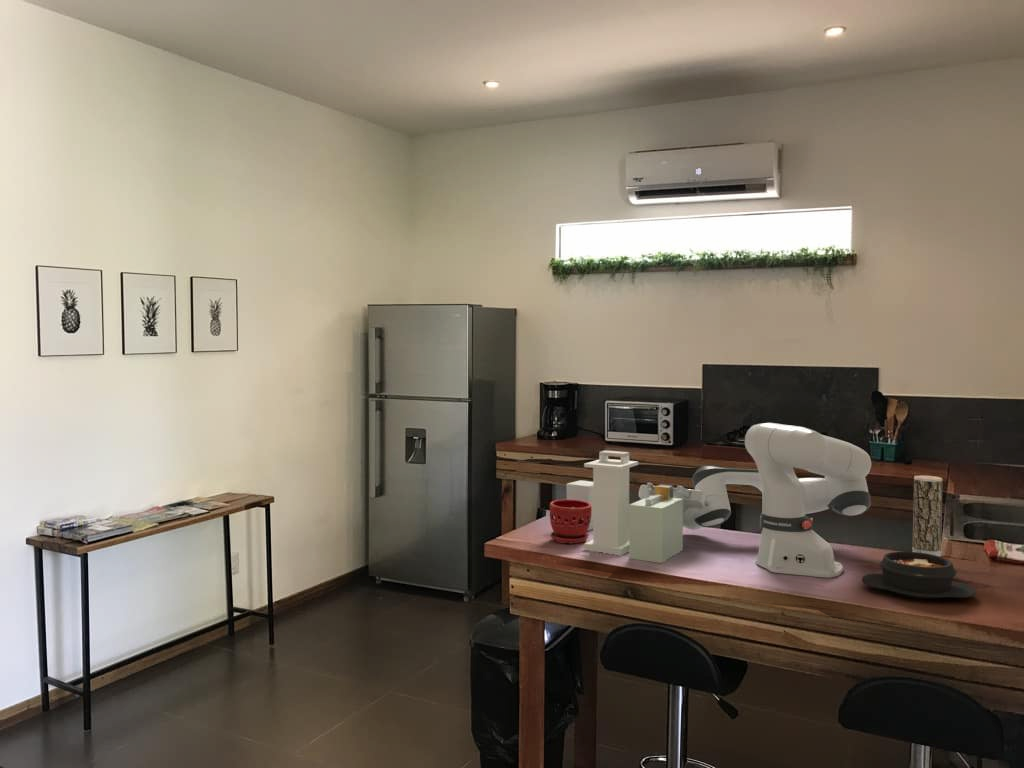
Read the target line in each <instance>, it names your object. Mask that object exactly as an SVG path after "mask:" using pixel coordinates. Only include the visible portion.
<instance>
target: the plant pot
mask: <svg viewBox="0 0 1024 768" xmlns="http://www.w3.org/2000/svg"><path fill="white" fill-rule="evenodd" d="M572 507H575V508H572ZM591 511H592V506H591V504H590V503H588V502H585V501H580V500H567V499H555V500H552V501H551V502H549V522H550V526H551V528H552V532H551V533H550V538H551V539H552V540H554V541H555V542H557V543H559V544H565V543H569V544H570V545H574V544H573V543H576V544H581V543H583V542H586V541H587V539H588V538H589V534H588V533H587V532H588V531H587V530H588V528H589V525H590V520H591ZM582 518H583V520H582ZM569 544H568V545H569Z"/></svg>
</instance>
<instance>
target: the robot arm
mask: <svg viewBox="0 0 1024 768" xmlns="http://www.w3.org/2000/svg"><path fill="white" fill-rule="evenodd" d="M744 446H745V449H746V451H747V453H748V454H749V455H750V456H751V458H752V459H753V461H754V463H755V465H756V468H755V469H754V468H753V469H752V468H728V467H720V466H715V465H704V466H701V467H699V468H697V469H696V471H695V473H694V474H693V475H692V477H691V482H692V487H693V489H689V488H686V487H684V486H683V485H677V486H676V487H673V498H680V499H683V528H684V529H687V530H690V531H696V530H700V529H701V528H712V527H716V526H721V525H722V524H724V522H726V521H727V520H728V519H729V518H730V516H731V514H732V511H731V505H730V501H729V497H728V492H727V486H726V485H745V486H746V485H748V486H753V487H755V488H757V489H758V490H759V491H760V492H761V493H762V494H761V496H762V500H761V501H762V503H761V505H762V512H761V513H760V518H759V528H760V535H761V536H760V542H759V548H758V553H757V557H756V559H755V564H756V565H758V566H759V567H762V568H764V569H766V570H768V571H769V572H771V573H775V574H776V573H777V574H787V575H796V576H807V577H815V578H817V577H818V578H828V579H829V578H834V577H837V576H840V575H841V574H842V573H843V571H844V567H843V564H842V563H841V562H839V561H835V555H834V551H833V548H832V546H831V544H830V543H829V542H827V541H826V540H825V539H824V538H822V537H821V536H820V535H819V534H817V533H816V532H815V531H814V530H812V528H813V520H814V519H813V517H809V516H807V515H808V514H813V513H818V512H822V511H826V510H831V511H834V512H835V513H837V514H838V515H842V516H845V517H853V516H859V515H861V514H863V513H866V512H867V511H868V510H869V508H870V507H871V504H872V503H871V501H872V500H871V494H870V492H869V487H868V483H867V479H866V477H867V476H868V474H870V471H871V468H872V460H871V456H870V455H869V454H868V452H867V451H865V450H864V449H862V448H861V447H859V446H857V445H854V444H853V443H850V442H848V441H845V440H842V439H838V438H835V437H831V436H827V435H824V434H821V433H820V432H818V431H816V430H813V429H811V428H807V427H804V426H798V425H790V424H789V425H788V424H783V423H782V424H781V423H775V422H765V423H764V422H763V423H757V424H753V425H751V426H750V428H749V429H748V430H747V431H746V434H745V435H744ZM794 468H797V469H801V470H804V471H807V472H809V473H813V474H816V475H820V476H824V477H800V478H798V476H797V475H796V473H795V470H794ZM655 486H656V485H654V484H653V483H652V482H647V483H646V484H641V485H640V487H639V489H638V497H639V499H640V500H642V499H644V498H646V497H649V496H651V495H652V496H654V495H655Z"/></svg>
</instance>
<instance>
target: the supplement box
mask: <svg viewBox="0 0 1024 768" xmlns="http://www.w3.org/2000/svg"><path fill="white" fill-rule="evenodd" d="M565 485H566V500H580V501H585V502H588V503H590V504H591V506H592V511H591V520H590V525H589V528H588V530H587V532H589V531H591V530H593V481H589V480H582V479H581V480H576V481H572V482H568V483H566V484H565ZM572 508H575V507H572ZM582 520H583V518H582Z"/></svg>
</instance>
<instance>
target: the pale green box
mask: <svg viewBox="0 0 1024 768" xmlns="http://www.w3.org/2000/svg"><path fill="white" fill-rule="evenodd" d="M650 497H652V495H651V496H649V497H646V498H644V499H639V500H637V501H635V502H632V503H629V552H628V558H629V559H633V560H639V561H646V562H652V563H658V564H659V563H660V564H663V563H665V562H666V561H668V560H669V558H670V557H671V558H673V557H674V556H676V555H678V554H679V553H681V552H682V550H683V541H684V540H683V539H684V538H683V537H684V536H683V535H684V532H683V528H684V527H683V499H680V498H671V499H670V500H662V501H659V502H657V503H655V504H653V505H646V499H648V498H650ZM680 551H681V552H680ZM677 553H678V554H677ZM675 554H676V555H675ZM673 555H674V556H673ZM672 556H673V557H672ZM671 558H670V559H671ZM667 559H668V560H667Z"/></svg>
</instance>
